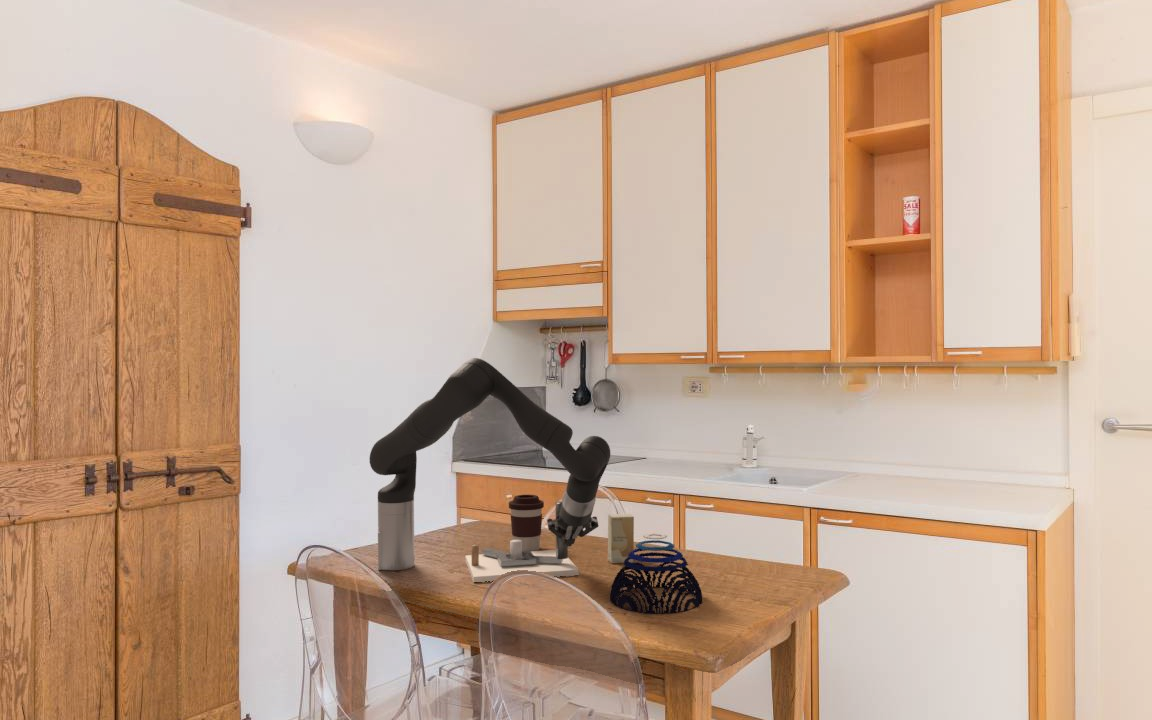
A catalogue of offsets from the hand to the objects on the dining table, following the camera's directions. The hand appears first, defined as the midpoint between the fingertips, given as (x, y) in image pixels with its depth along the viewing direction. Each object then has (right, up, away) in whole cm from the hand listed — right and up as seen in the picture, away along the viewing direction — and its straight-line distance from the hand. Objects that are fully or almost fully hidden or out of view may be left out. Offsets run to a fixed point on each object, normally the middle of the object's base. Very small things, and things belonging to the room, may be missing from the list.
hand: (567, 543), depth 199 cm
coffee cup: (-12, -8, +28) cm, 31 cm away
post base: (-13, -8, +7) cm, 17 cm away
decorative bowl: (+20, -8, -21) cm, 30 cm away
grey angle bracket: (-12, -6, +10) cm, 16 cm away
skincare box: (+14, -8, +13) cm, 21 cm away
